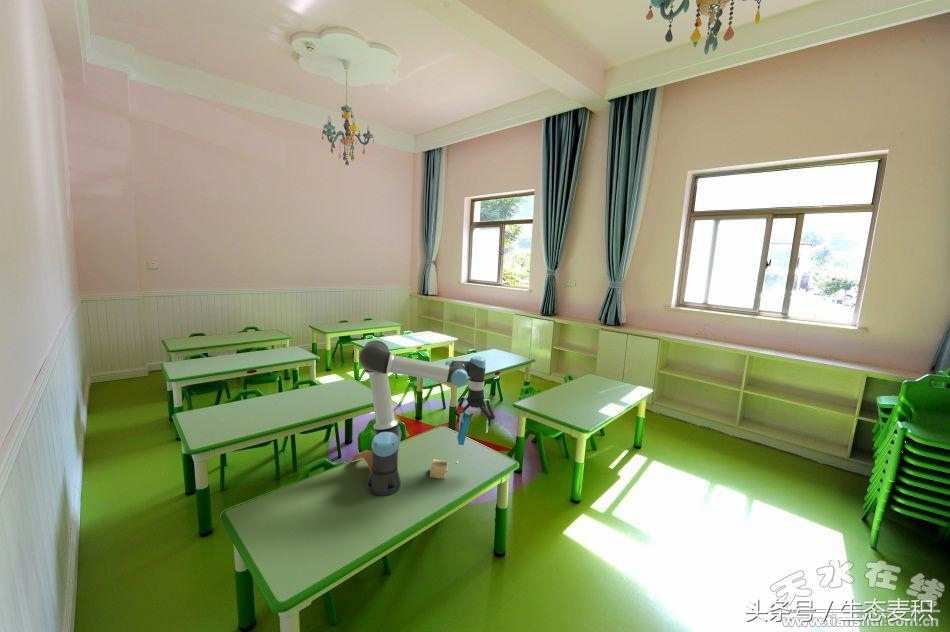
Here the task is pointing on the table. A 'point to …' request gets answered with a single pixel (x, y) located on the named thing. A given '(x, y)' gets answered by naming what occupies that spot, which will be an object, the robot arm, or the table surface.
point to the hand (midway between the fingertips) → (473, 430)
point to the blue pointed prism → (463, 425)
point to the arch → (364, 457)
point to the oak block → (438, 468)
